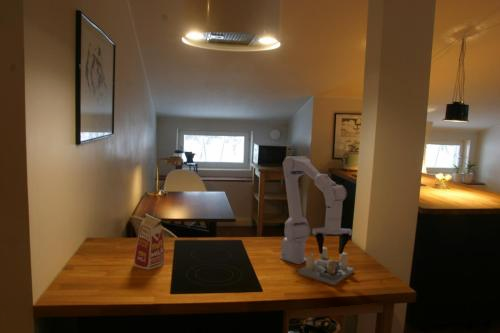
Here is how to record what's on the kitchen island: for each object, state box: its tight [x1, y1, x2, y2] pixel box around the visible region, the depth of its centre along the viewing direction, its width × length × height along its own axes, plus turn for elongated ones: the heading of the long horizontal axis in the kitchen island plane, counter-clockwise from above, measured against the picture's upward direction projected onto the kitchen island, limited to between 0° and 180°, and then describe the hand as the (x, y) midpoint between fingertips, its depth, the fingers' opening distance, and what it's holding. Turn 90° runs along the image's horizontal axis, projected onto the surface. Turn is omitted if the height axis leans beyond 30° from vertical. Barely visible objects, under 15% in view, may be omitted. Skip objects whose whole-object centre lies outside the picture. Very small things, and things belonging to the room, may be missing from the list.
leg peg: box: [327, 259, 336, 276], centre depth 137 cm, size 3×3×6 cm
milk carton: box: [132, 213, 166, 271], centre depth 144 cm, size 9×9×20 cm
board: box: [298, 246, 354, 286], centre depth 144 cm, size 15×17×8 cm
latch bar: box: [316, 258, 341, 270], centre depth 142 cm, size 9×2×2 cm, turn 65°
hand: (330, 253), depth 138 cm, fingers open, 7 cm apart
